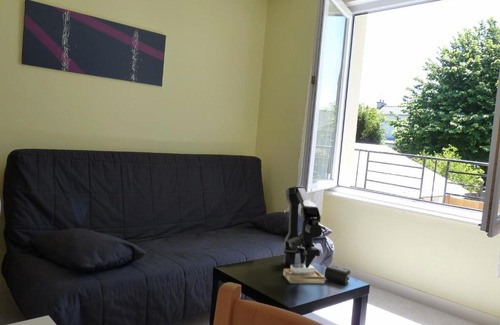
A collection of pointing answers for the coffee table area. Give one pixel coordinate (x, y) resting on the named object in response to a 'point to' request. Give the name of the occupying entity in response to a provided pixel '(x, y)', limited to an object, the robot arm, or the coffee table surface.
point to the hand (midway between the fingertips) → (304, 265)
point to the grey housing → (302, 270)
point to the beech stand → (304, 277)
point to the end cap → (337, 275)
